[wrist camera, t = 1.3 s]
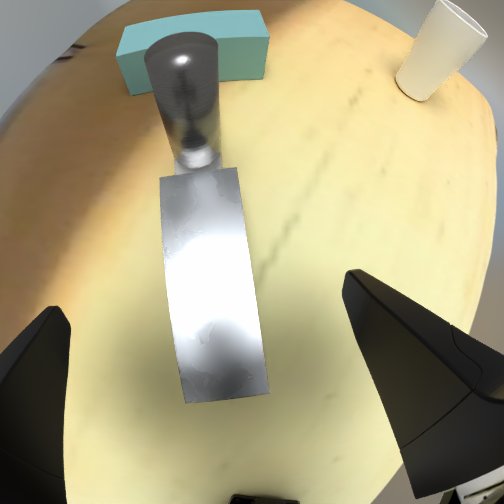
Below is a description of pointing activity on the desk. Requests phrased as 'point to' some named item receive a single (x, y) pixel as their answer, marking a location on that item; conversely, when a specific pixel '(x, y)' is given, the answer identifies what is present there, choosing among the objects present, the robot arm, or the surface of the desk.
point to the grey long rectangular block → (211, 287)
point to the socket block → (212, 23)
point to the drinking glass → (439, 50)
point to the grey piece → (188, 97)
